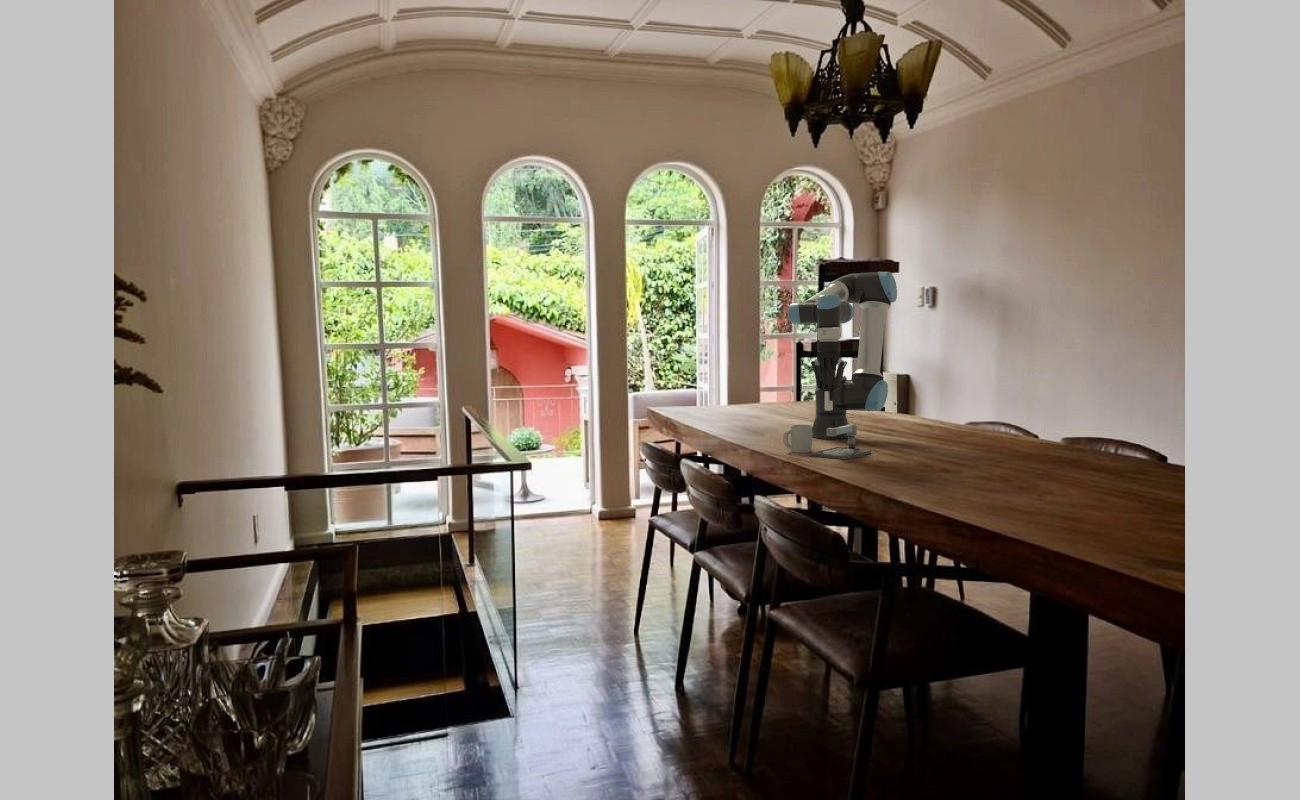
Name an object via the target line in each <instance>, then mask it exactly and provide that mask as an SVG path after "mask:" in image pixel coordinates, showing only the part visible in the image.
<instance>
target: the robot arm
mask: <svg viewBox="0 0 1300 800" xmlns="http://www.w3.org/2000/svg"><path fill="white" fill-rule="evenodd" d="M897 288H898V287H897V282H896V279H895V277H894V275H893V274H892V273H891V272H889V271H877V272H873V271H872V272H860V273H857V272H856V273H854V272H853V273H849V274H846V275H843V276H841V277H838V278H836V279H835V280H832V281H831V282H829V283H827V285H826V286H825V288H824V289H823V290H821V291H820V292H818V293H816V294H814V295H813V296H812V297H811V296H810V298H808V299H807V300H804V301H803V302H794V303H790V305H789V306H788V309H787V318H788V320H789V322H790V323H791V324H793V325H794V324H795V325H812V324H813V325H814V324H815V325H816V324H817V340H818V341H817V348H816V349H817V351H816V352H817V357H816V359H815V360H812V361H810V364H811V366H812V368H813V373H814V378H815V390H814V393H815V418H814V421H813V424H812V438H816V439H823V440H824V439H826V440H834V439H835V440H840V439H848V436H849V435H847V433H843V434H839V435H837V436H827V428H836V427H841V426H846V425H850V424H849V421H848V417H847V411H861V412H862V411H863V412H867V413H868V412H878V411H880V410H882V409H883V408H884V406H885V404H886V402H887V399H888V394H889V389H888V388H889V385H888V383H887V381H886V380H884V377H885V376H883V374H882V373H881V364H882V354H883V343H884V336H885V335H884V334H885V325H886V324H885V322H886V314H887V311H889V310H890V309H891V305H892V303H895V302H896V301H897V298H898V289H897ZM852 304H858V306H859V308H860V309H861V310H862V312H861V313H862V315H861V321H860V322H861V323H860V334H859V343H858V354H857V362H856V364H857V365H856V370H855V371H854V372H853V373H852V374H851V379H848V378H847V376H846V375H844V372H845V368H846V366H847V365H848V362H847V361H846V360H845V361H844V359H842V356H841V355H840V353H841V352H840V351H841V342H840V341H839V340H840V339H841V324H846V323H849V322H850V321H851V320H852V319H853V317H854V315H855V309H854V307H853V305H852ZM837 365H838V366H837Z"/></svg>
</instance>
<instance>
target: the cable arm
mask: <svg viewBox="0 0 1300 800" xmlns="http://www.w3.org/2000/svg"><path fill="white" fill-rule="evenodd" d="M843 433H847V435H849V436H855V437H856V436H857V424H849V425H846V426H841V427H836V428H827V436H837V435H839V434H843Z"/></svg>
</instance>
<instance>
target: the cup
mask: <svg viewBox="0 0 1300 800" xmlns="http://www.w3.org/2000/svg"><path fill="white" fill-rule="evenodd" d="M812 427H813V425H811V424H791V425H790V428H789V429H787V430H785V432H784V433H783V439H782V441H783V444H784V446H785V447H786V448H787V449H790V451H791V452H792V453H796V454H807V453H808V454H809V453H812V451H813V437H812ZM789 435H790V443H789Z"/></svg>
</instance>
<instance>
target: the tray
mask: <svg viewBox="0 0 1300 800" xmlns="http://www.w3.org/2000/svg"><path fill="white" fill-rule="evenodd" d="M869 454H872V450H870V449H869V450H868V449H861V447H859V446H856V435H855V436H848V438H847V446H845V447H841V446H840V447H839V446H836V447H832V448H831V447H830V448H828V449H823V450H818V451H815V452H811V457H818V458H827V459H837V460H845V461H847V460H851V459H855V458H859V457H862V456H866V455H869Z"/></svg>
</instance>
